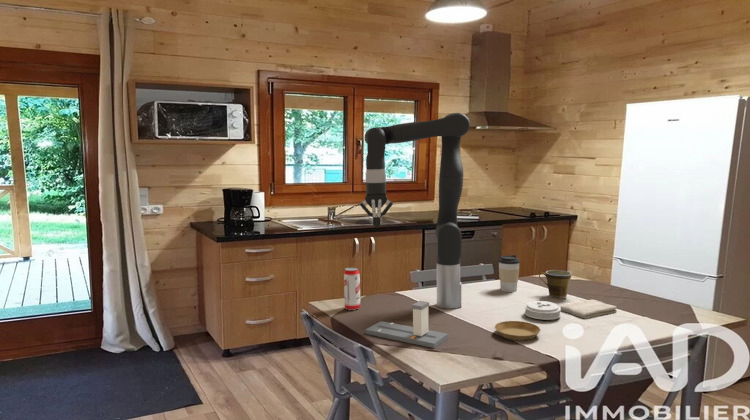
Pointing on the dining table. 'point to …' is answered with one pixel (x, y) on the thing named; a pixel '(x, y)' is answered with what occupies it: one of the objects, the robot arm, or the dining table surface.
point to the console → (406, 334)
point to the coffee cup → (508, 273)
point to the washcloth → (588, 308)
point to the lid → (542, 310)
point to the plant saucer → (517, 330)
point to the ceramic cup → (557, 283)
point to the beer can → (352, 288)
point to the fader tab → (420, 318)
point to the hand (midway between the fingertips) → (376, 226)
